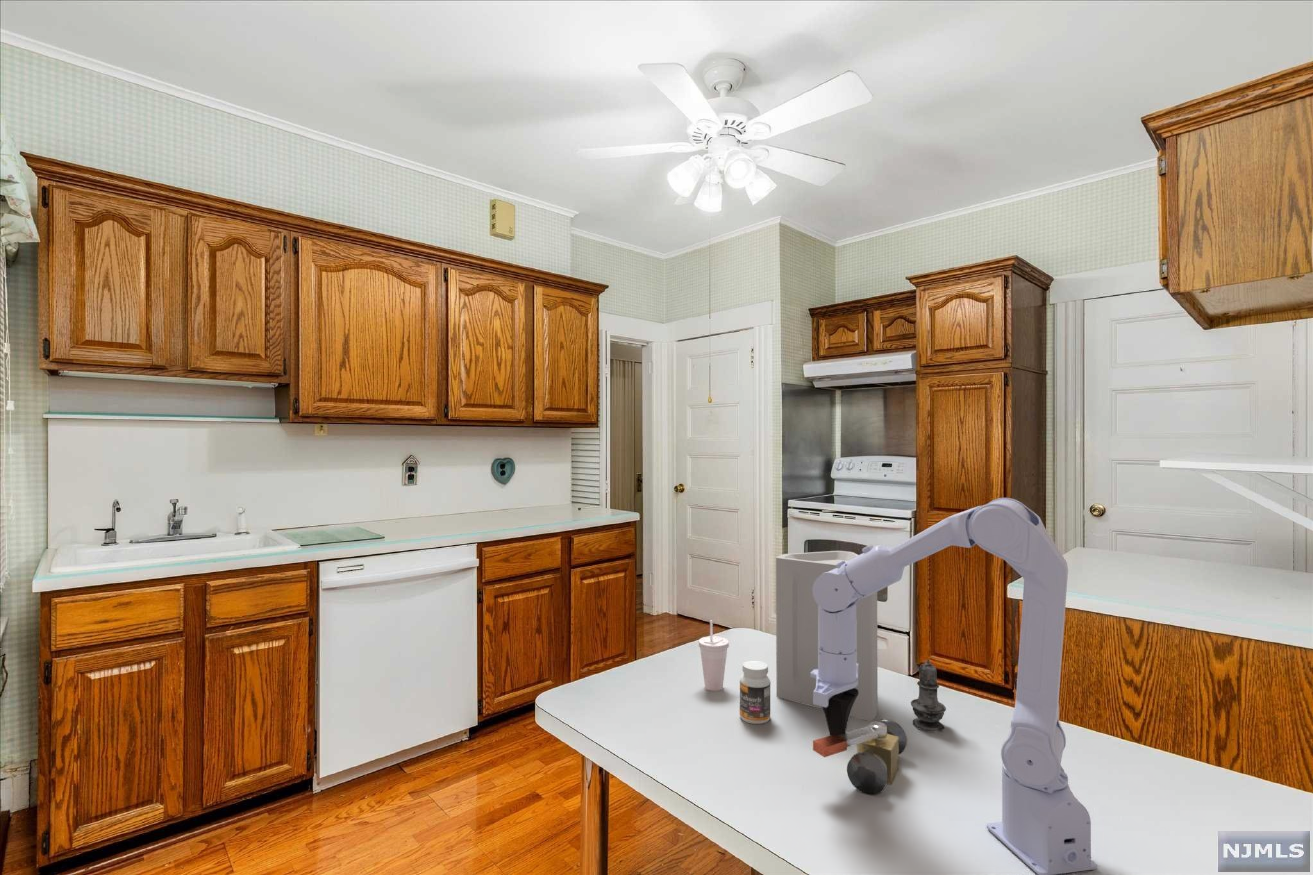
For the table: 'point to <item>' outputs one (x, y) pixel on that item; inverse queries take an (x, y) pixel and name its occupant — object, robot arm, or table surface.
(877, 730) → the valve lever
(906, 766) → the table surface
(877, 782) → the valve
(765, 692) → the pill bottle
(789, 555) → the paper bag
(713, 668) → the smoothie
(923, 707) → the salt shaker
